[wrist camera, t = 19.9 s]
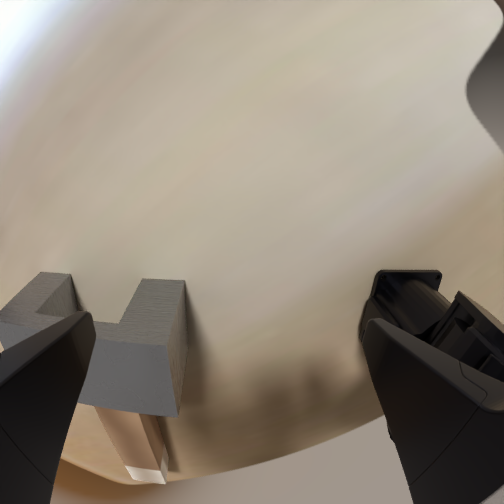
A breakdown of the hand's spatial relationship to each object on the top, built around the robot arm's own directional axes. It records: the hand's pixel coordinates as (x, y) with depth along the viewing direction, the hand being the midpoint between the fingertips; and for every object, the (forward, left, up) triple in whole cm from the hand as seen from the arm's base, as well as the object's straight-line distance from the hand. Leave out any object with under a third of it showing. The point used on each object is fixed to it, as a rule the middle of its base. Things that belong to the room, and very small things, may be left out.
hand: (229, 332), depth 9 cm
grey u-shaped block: (+9, +7, -11) cm, 16 cm away
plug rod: (+9, +21, -11) cm, 26 cm away
